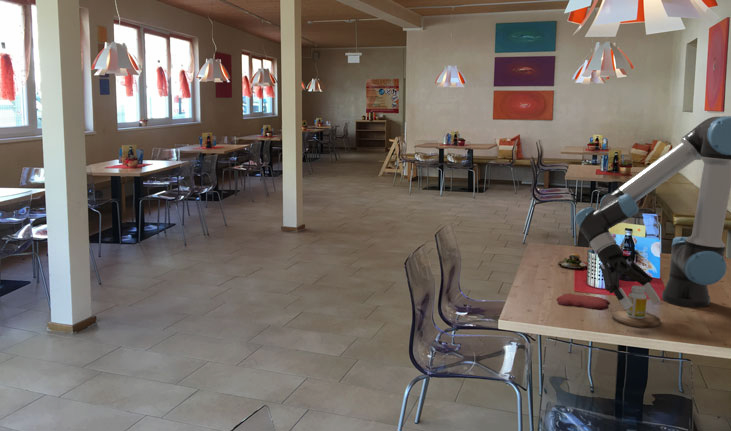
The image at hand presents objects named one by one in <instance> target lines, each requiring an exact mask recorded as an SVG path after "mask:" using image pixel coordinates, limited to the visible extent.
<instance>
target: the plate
mask: <svg viewBox="0 0 731 431" xmlns="http://www.w3.org/2000/svg"><path fill="white" fill-rule="evenodd" d="M611 319H612V320H613V321H614V322H616V323H618V324H622V325H625V326H628V327H632V328H633V327H634V328H644V329H645V328H647V329H648V328H656V327H658V326H660V325H661V324H660V323H661V319H660V317H658V316H657V315H655V314H652V313H649V312H645V317H644V318H642V319H637V318H631V317H629V316H627V310H625V309H621V310H620V309H619V310H615V311H613V312H612V313H611Z"/></svg>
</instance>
